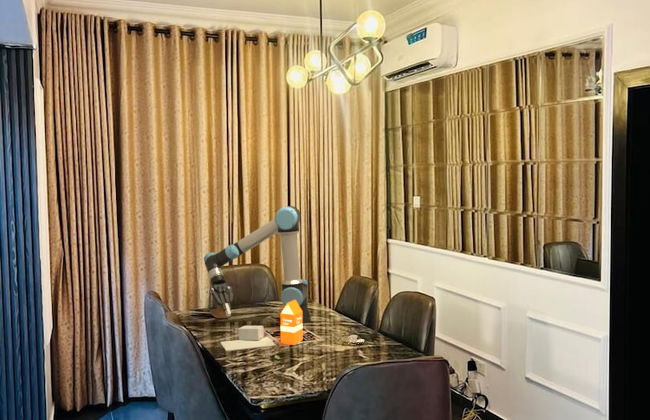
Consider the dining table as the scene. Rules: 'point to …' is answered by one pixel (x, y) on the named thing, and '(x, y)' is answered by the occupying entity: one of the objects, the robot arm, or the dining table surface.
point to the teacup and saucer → (355, 339)
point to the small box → (251, 332)
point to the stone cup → (220, 309)
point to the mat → (247, 344)
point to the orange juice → (291, 324)
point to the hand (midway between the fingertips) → (229, 315)
